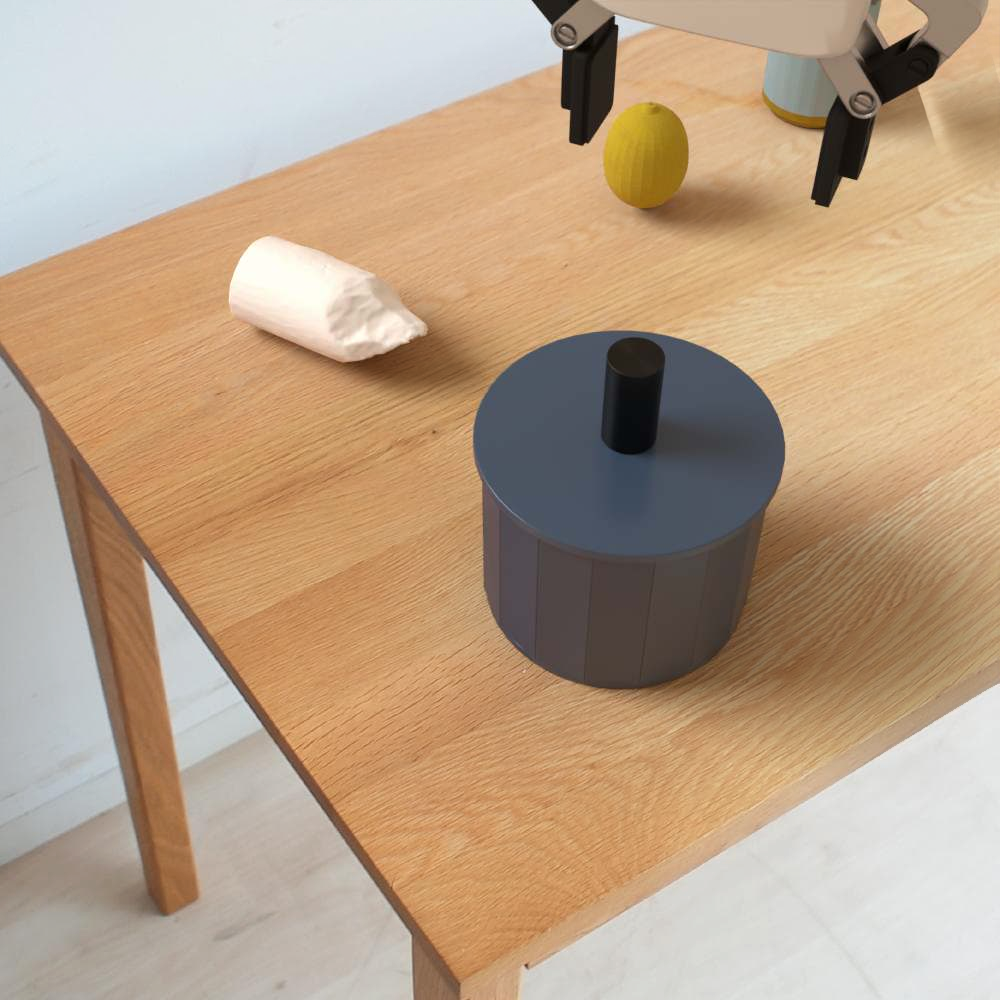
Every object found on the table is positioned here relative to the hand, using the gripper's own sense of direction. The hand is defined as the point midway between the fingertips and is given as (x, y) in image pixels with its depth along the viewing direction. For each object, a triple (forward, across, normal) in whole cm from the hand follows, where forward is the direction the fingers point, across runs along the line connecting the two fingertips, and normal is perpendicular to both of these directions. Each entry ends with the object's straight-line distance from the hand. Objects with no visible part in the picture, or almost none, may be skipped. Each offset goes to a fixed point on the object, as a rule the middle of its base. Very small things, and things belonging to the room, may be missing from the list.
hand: (707, 155), depth 56 cm
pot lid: (+16, +2, +1) cm, 16 cm away
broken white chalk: (+27, +23, -10) cm, 37 cm away
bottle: (+27, +4, -46) cm, 53 cm away
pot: (+27, +2, +1) cm, 27 cm away
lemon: (+27, +11, -30) cm, 42 cm away
